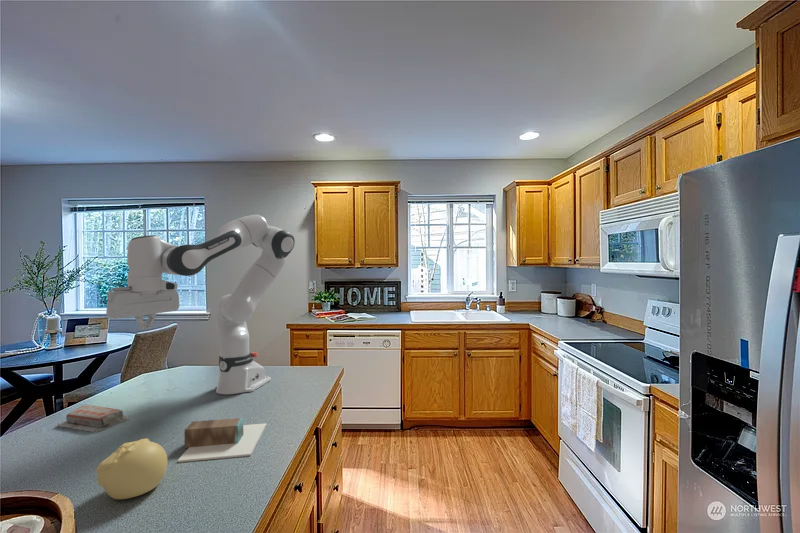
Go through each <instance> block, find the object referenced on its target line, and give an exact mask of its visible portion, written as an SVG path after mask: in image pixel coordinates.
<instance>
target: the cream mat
mask: <svg viewBox="0 0 800 533" xmlns="http://www.w3.org/2000/svg"><path fill="white" fill-rule="evenodd" d="M266 427H267V423H265V422H264V423H252V424H243V436H242V438H241V439H240V441H239V443H234V444H222V445H211V446H199V447H187V449H186V450H185V451H184V453H182V455H181V456H180V457H179V458H178V459H177V463H186V462H194V461H195V462H196V461H197V462H198V461H206V460H217V459H219V460H220V459H230V458H231V459H232V458H240V457H241V458H242V457H250V456H252V454H253V452H254V450H255V449H256V447H257V445H258V443H259V440H260V438H261V437H262V434H263V433H264V431H265V428H266Z"/></svg>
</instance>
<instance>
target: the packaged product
mask: <svg viewBox="0 0 800 533" xmlns="http://www.w3.org/2000/svg"><path fill="white" fill-rule="evenodd" d="M65 419H66V420H64V421H62V422H61V423H57V427H60V428H67V429H71V428H72V429H73V430H76V429H78V430H77V431H81V430H85V431H84V432H89V431H90V432H91V433H94V432H96V433H95V434H98V433H100V431H101V432H103V431H105V430H108V429H110V428H113V427H115V426H117V425H119V424H122V423H124V422H127V421H129V419H130V417H129V415H125V414H124V412H123V409H118V408H111V407H104V406H97V405H92V404H88V405H81V406H78V407H77V408H76V409H74V410H72V411H70V412H69V413H68V414H66V416H65ZM107 428H108V429H107ZM90 432H89V433H90ZM97 432H98V433H97Z"/></svg>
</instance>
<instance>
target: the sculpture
mask: <svg viewBox="0 0 800 533" xmlns="http://www.w3.org/2000/svg"><path fill="white" fill-rule="evenodd" d="M168 460H169V459H168V456H167V452H166V450H165V449H164V447H162V446H161V445H160V444H159V443H157V442H153V441H151V440H150V439H149V438H140V439H139V440H134V441H131V442H130V441H129V442H124V443H123V444H122V445H120V446H119V447H118V448H117V449H116V450H115V451H113V452H112V453H111V454H110V455H109V456H108V457H107V458H105V459H104V460H102V461H101V462H100V463H99V464H98V465H97V467H96V469H95V470H96V476H97V477H96V480H97V484H98V486H100V487H101V488H103V490H104V491H105V493H106V494H107V495H108V497H111V498H112V499H114V500H126V499H132V498H136V497H139V496H142V495H144V494H147V493H148V492H150V491H151V490H154V489H155V488H156V487H157V486H158V485H159V484H160V483H161V481H162V479H163V478H164V476H165V474H166V472H167V467H168Z"/></svg>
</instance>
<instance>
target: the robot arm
mask: <svg viewBox="0 0 800 533" xmlns="http://www.w3.org/2000/svg"><path fill="white" fill-rule="evenodd" d="M295 241H296V240H295V237H294V235H293V234H292V233H291V232H289V231H287V230H285V229H282V228H280V227H277V226H272V225H269V224H268V222H267V219H266V218H265V217H264V216H262V215H260V214H250V215H245V216H241V217H238V218H235V219H233V220H230V221H229V222H226V223H225V224H223V225H222V226H220V227H219V229H218V235H217V236H215V237H213V238H211V239H209V240H208V239H207V240H206V241H204V242H203V241H202V242H201V243H198V244H183V245H178V246H177V245H175V244H172V243H170V242H167V241H165V240H164V239H162V238H160V237H159V236H158V235H152V234H151V235H150V234H149V235H142V236H136V237H133V238H131V239H130V240H129V242H128V245H127V253H126V254H127V257H126V258H127V259H126V263H127V267H128V274H127V286H123V287H122V286H121V287H117V286H116V287H113V288H112V289H109V290H108V292H107V293H106V294H107V304H106V311H105V312H106V313H105V314H106V317H107V318H108V319H113V320H115V319H116V320H117V319H124V318H125V319H126V318H132V317H133V318H134V320H135V322H137V324H138V329H139V330H148V329H149V330H150V329H152V328H153V323H154V321H155V319H156V317H157V314H162V313H171V312H177V311H178V310H179V308H180V297H179V292H178V291H177V290H178V284H177V283H176V282H173V281H169V280H164V279H162V278H163V276H162V275H163V274H167V275H175V276H177V275H178V276H183V277H190V276H194V275H197V274H199V273H200V272H201V271H202V270H203V269H204V268H205V266H207V264H208V263H210V262H211V261H212V260H214V259H216V258H218V257H220V256H222V255H225V254H226V253H228V252H230V251H237V250H240V249H242V248H245V247H248V246H250V245H253V246H255V247H256V248H259V249H261V250H262V252H261V254H260V256H259V257H258V258H257V259H256V261H254V262H253V264H252V265H251V266H250V267H249V268H248V270H247V271H246V272H245V273H244V275H242V277H241V279H240V281H239V283H238V285H237V287H236V288H235V290H234V291H233V292H232V293H229V294H225V295H223V296H222V297H220V298H219V299H218V300H217V302H216V305H215V310H216V318H217V327H218V334H219V356H218V367H219V374H218V381H217V386H216V389H215V392H216V393H217V394H218V395H219V394H220V395H235V394H236V395H237V394H242V393H250V392H254V391H256V390H257V389H258V388H259V389H260V387H262V386H264V385H266V384H268V382H270V381H272V377H270V376H269V375H266V369H265V367H264V366H263V365H261V364H260V363H257V362H256V361H255V360H254V359H253V358H257V357H258V353H257V352H256V351H255V352H254V351H252V352H250V332H249V330H248V329H249V328H248V325H247V321H249V320H251V318H252V317H253V316H254V314H255V310H256V308H257V306H258V304H259V303H260V301H261V299H262V297H263V296H264V293H265V292H266V291H267V290H268V288H269V287H270V286H271V284H273V282H274V280H276V278H277V277H278V275H279V274H280V272H281V270H282V269H283V267H284V265H285V263H286V258H287V256H289V255H290V254H291V253H292V250H293V249H294V248H295ZM146 315H147V316H146ZM145 316H146V317H147V318H148V319H147V321H146V322H144V320H143V319H144V318H145Z"/></svg>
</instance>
